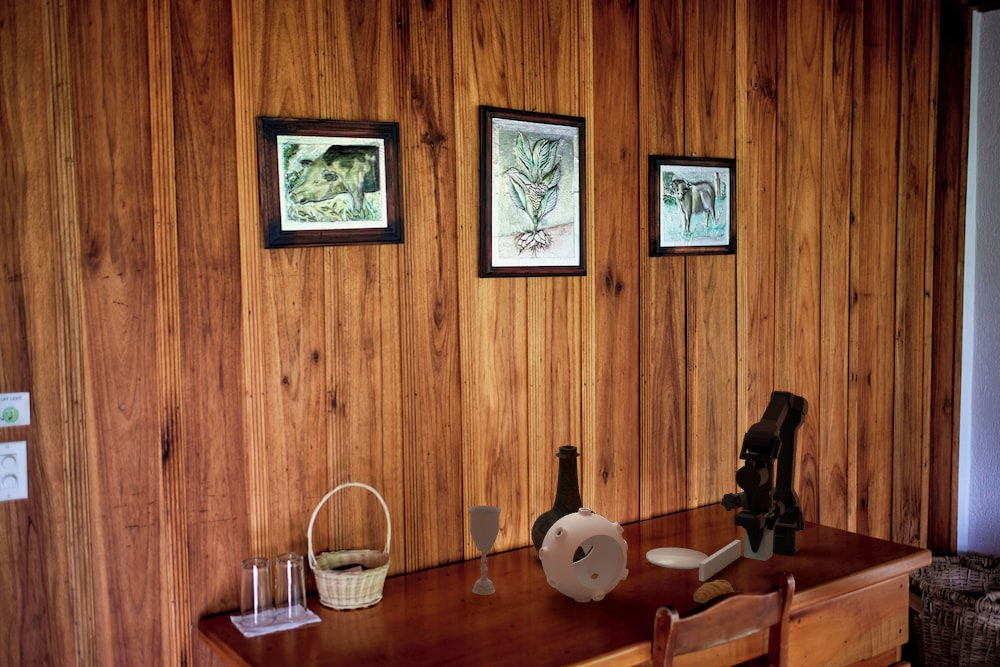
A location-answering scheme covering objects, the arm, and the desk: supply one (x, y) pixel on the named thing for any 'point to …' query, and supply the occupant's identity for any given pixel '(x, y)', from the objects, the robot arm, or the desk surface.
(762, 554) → the block
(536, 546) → the glass bottle
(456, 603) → the desk surface
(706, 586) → the pastry
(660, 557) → the plate
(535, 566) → the desk surface
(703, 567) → the panel
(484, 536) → the chalice
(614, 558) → the decorative ball
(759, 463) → the robot arm
